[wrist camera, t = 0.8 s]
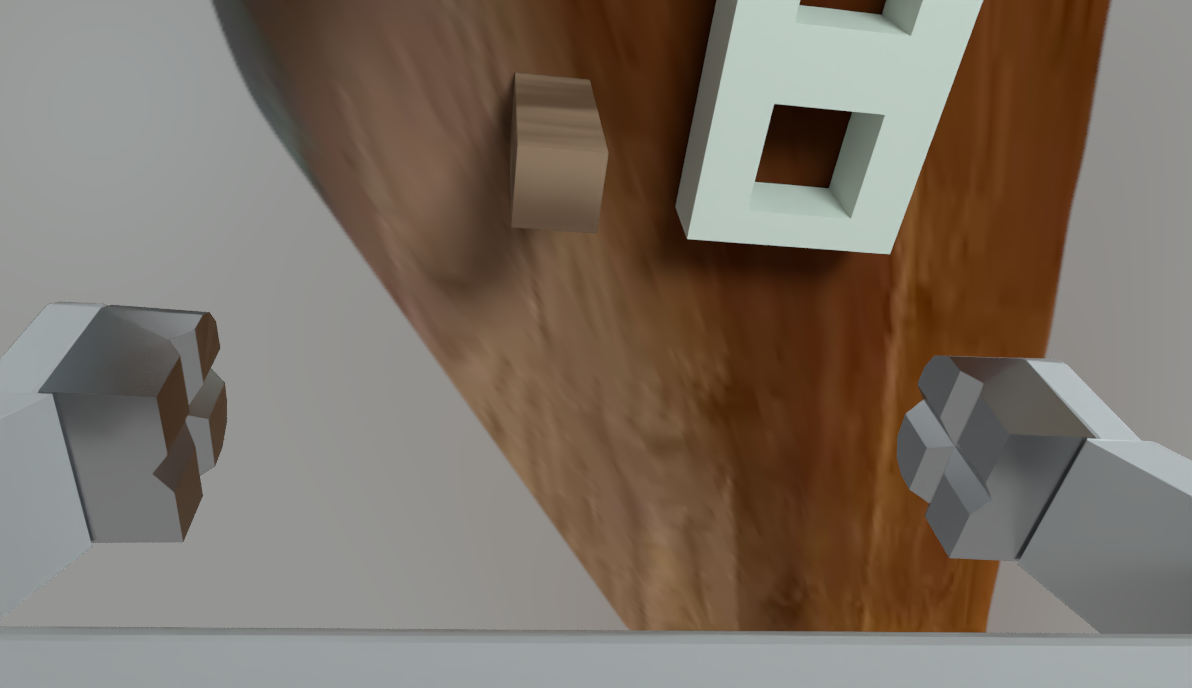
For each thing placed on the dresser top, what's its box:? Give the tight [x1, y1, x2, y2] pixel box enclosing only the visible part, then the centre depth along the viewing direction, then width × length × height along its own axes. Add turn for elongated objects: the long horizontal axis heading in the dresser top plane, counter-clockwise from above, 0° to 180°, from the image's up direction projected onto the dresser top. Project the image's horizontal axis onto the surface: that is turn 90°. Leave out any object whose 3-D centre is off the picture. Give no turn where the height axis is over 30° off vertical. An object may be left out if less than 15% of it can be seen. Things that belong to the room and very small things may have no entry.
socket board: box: [675, 0, 983, 254], centre depth 45 cm, size 20×12×4 cm, turn 173°
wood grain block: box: [510, 72, 608, 234], centre depth 43 cm, size 4×4×10 cm
